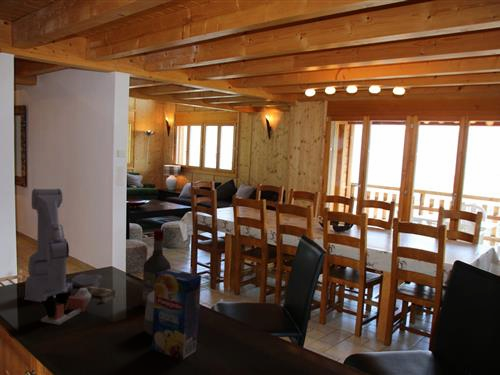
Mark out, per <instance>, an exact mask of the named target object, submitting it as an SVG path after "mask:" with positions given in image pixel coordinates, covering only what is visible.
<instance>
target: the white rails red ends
mask: <svg viewBox="0 0 500 375" xmlns="http://www.w3.org/2000/svg"><path fill="white" fill-rule="evenodd" d="M68 309H69V311H70V312H69V313H67V314H65V311H68ZM84 312H86V306H85V299H84V298H78V297H74V296H71V295H70V297H69V298H68V300H67V303H66V306H65V310H64V304H62V303H57V304H56V308H55V316H54V317H53V318H51V317H48V315H47V314H46V316H43V317H42V318H41V319H40V321H41V322H40V323H47V324H53V325H61V324H63V323H64V322H66V321H68V320H70V319H72V318H73V317H76V315H78V314H81V313H84Z"/></svg>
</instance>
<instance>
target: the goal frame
mask: <svg viewBox="0 0 500 375" xmlns="http://www.w3.org/2000/svg"><path fill="white" fill-rule="evenodd" d="M85 288H87V289H88V292H89V293H90V294H91V296H96V297H101V303H102V304H106V303H108V302H109V301H112V300H113V299H114V298H116V290H115V289H109V288H103V287H99V286H98V287H92V286H87V287H85Z"/></svg>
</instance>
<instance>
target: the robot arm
mask: <svg viewBox="0 0 500 375" xmlns="http://www.w3.org/2000/svg"><path fill="white" fill-rule="evenodd" d="M62 203H63V191H62V189H60V188H34V189H33V190H32V191H31V209H32V210H35V211H36V213H37V241H36V242H37V245H36V247H37V248H36V249H37V250H36V251H35V252H34V253H33V254H32V255H30V256H29V259H28V265H27V266H28V267H27V269H28V270H27V271H28V275H29V276H28V277H27V278H26V280H25V283H24V284H25V285H24V287H25V290H24V291H25V294H24V297H23V300H27V301H31V302H38V303H42V304H43V306H44V308H45V311H46V316H47V315H48V317H51V318H53V317H54V316H55V308H56V304H57V303H62V304H64V310H65V306H66V303H67V300H68V298H69V297H70V296H71V295H72V291H71V289H73V285H72V283H71V282H70V281H69V282H68V281H67V258H69V254H70V247H69V246H70V245H69V242H68V241H67V238H66V237H65V233H64V227H63V225H62V224H61V223H59V214H58V213H59V208H60V206H61V204H62ZM65 311H66V310H65Z"/></svg>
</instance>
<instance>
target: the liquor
mask: <svg viewBox="0 0 500 375" xmlns="http://www.w3.org/2000/svg"><path fill="white" fill-rule="evenodd" d="M164 233H165V232H164V230H163V229H154V230H153V252H152V254H151V256H150V257H149V258H147V259H146V260H145V262H144V263H143V273H142V275H143V277H142V295H141V298H142V299H141V304H142V307H143V308H144V307H145V308H144V309H146V304H147V297H148V295H149V294H150V293H151V292H152V291H155V274H156V273H159V272H162V271H165V270H168V269H172V268H171V267H172V266H171V264H170V261H168V258H167V257H166V256H165V255H164V252H163V240H164Z"/></svg>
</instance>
